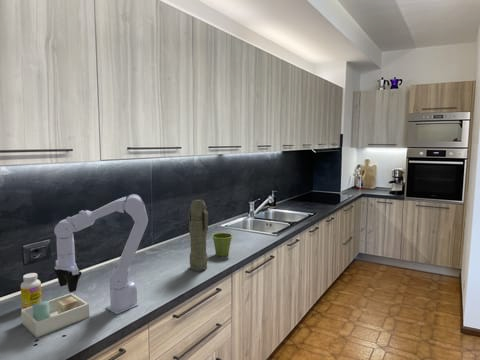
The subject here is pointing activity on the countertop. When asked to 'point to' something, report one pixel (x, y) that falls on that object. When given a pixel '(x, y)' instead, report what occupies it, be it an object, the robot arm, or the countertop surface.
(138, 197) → the robot arm
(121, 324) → the countertop surface
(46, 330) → the tote
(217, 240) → the plant pot
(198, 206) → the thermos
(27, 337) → the countertop surface
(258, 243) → the countertop surface
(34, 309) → the teal cylinder
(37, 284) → the supplement bottle
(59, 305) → the beech cube
